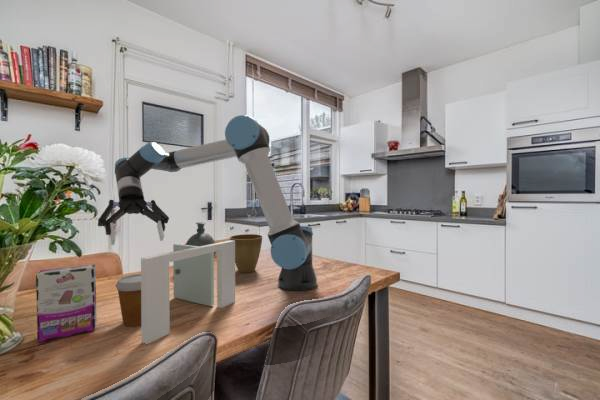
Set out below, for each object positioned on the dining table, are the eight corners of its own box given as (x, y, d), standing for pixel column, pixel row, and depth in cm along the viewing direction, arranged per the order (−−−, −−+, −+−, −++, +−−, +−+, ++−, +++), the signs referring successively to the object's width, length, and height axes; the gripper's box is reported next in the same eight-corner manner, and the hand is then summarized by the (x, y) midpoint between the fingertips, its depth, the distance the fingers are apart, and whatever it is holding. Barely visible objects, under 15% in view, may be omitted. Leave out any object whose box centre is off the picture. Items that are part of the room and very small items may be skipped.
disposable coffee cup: (127, 333, 70) (127, 285, 70) (109, 323, 75) (108, 279, 75) (163, 319, 78) (162, 276, 78) (144, 311, 83) (144, 271, 83)
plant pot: (232, 267, 135) (231, 234, 135) (262, 266, 137) (262, 234, 136) (227, 275, 120) (227, 239, 120) (262, 274, 122) (262, 238, 122)
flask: (222, 267, 135) (222, 222, 134) (187, 274, 123) (187, 224, 123) (212, 263, 143) (211, 220, 143) (178, 269, 131) (177, 222, 131)
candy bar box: (97, 323, 75) (96, 263, 75) (95, 331, 71) (94, 267, 71) (41, 334, 69) (40, 269, 69) (36, 343, 65) (35, 273, 65)
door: (215, 304, 88) (215, 247, 88) (209, 307, 86) (209, 249, 85) (178, 295, 96) (178, 243, 95) (171, 298, 93) (171, 244, 93)
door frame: (230, 300, 92) (230, 240, 92) (235, 301, 91) (235, 240, 91) (141, 342, 66) (140, 258, 65) (146, 344, 65) (146, 259, 64)
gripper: (166, 199, 109) (177, 243, 98) (86, 199, 93) (88, 251, 82) (170, 186, 105) (182, 230, 94) (87, 183, 89) (90, 236, 78)
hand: (139, 240), depth 88 cm, fingers open, 13 cm apart
